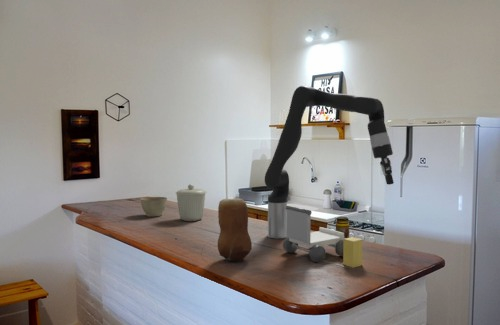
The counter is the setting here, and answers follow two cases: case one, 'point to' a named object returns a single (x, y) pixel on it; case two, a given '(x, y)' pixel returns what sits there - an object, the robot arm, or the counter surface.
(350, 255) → the yellow rectangular block
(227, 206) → the butternut squash
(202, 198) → the canister
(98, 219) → the counter surface
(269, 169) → the robot arm
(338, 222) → the condiment
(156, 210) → the planter bowl
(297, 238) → the trolley
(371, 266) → the counter surface
